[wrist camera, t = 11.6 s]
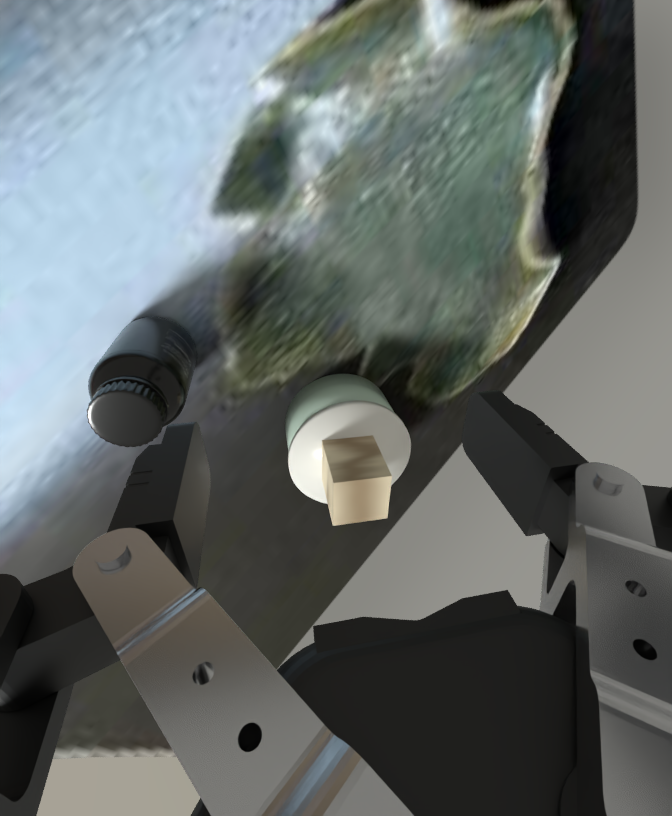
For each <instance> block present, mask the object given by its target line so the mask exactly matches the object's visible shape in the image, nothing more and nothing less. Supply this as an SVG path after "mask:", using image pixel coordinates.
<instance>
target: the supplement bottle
mask: <svg viewBox="0 0 672 816" xmlns="http://www.w3.org/2000/svg"><path fill="white" fill-rule="evenodd" d="M196 359H197V352H196V347H195V344H194V342H193V340H192V338H191V336H190V335H189V334H188V333H187V331H186V330H185V329H184V328H182V327H181V326H180V325H178V324H177V323H175V322H173V321H171V320H168V319H165V318H161V317H144V318H140V319H137V320H135V321H133V322H131V323H130V324H128V325H127V326H126V327H125V328H124V329H123V330H122V332H121V333H120V334H119V335H118V337H117V338H116V339H115V341H114V342H113V343H112V345H111V346H110V347H109V348H108V350H107V351H106V352H105V354H104V355H103V356H102V358H101V359H100V360H99V362H98V363H97V364H96V366H95V367H94V369H93V371H92V373H91V375H90V378H89V384H88V390H89V395H90V398H91V401H90V403H89V407H88V409H87V413H88V414H87V418H88V419H89V420H88V423H89V424H90V425H91V428H92V429H93V430H94V432H95V433H96V434H98V435H99V436H100V438H103V439H104V440H105V441H107V442H110V443H112V444H116V445H119V446H125V447H130V446H131V447H136V446H142V445H143V444H147V443H148V442H150V441H153V439H154V438H156V437H157V436H158V434H159V433H160V432H161V430H162V427H164V426H166V425H168V424H169V423H171V422H172V421H174V420H175V419H176V418H177V417H178V416H179V414H180V413H181V411H182V409H183V407H184V405H185V402H186V398H187V395H188V391H189V387H190V384H191V380H192V376H193V373H194V369H195V365H196Z"/></svg>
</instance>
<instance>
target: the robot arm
mask: <svg viewBox="0 0 672 816" xmlns="http://www.w3.org/2000/svg"><path fill="white" fill-rule="evenodd" d="M462 443H463V447H464V450H465V452H466V454H467V456H468V457H469V459H470V460H471V461H472V463H473V464H474V465H475V467H476V468H477V470H478V471H479V472H480V474H481V475H482V476H483V478H484V479H485V480H486V482H487V483H488V485H489V486H490V487H491V489H492V490H493V491H494V493H495V494H496V495H497V497H498V498H499V500H500V501H501V502H502V504H503V505H504V506H505V508H506V509H507V511H508V512H509V513H510V515H511V516H512V517H513V518H514V520H515V522H516V523H517V524H518V526H519V527H520V528H521V530H522V531H523V532H524V534H525V535H526V536H531V535H537V534H542V533H545V535H546V536H547V537H548V540H547V543H546V545H545V552H544V566H543V580H542V592H541V604H540V610H536V609H532V608H527V607H522V606H517V605H516V603H515V602H514V600H513V598H512V597H511V595H510V593H509V592H508V590H505V591H500V592H494V593H489V594H484V595H479V596H473V597H468V598H462V599H460V600H458V601H457V602H455V603H453V604H451V605H449V606H447V607H445V608H443V609H441V610H439V611H437V612H435V613H433V614H432V615H430V616H428V617H426V618H424V619H421V620H417V621H416V620H415V621H413V620H399V619H386V618H372V617H360V618H355V619H350V620H344V621H339V622H334V623H328V624H323V625H317V626H313V629H314V641H315V643H313V644H311V645H309V646H307V647H305V648H303V649H302V650H301V651H299V652H297V653H296V654H294V655H293V656H292V657H290V658H289V659H288V660H287V661H286V662H285V663H284V664H282V665H281V666H280V668H279V669H278V670H276V669H275V668H274V667H273V666H272V665H271V663H270V662H269V661H268V660H267V659H266V658H265V657H264V655H263V654H262V653H261V652H260V651H259V650H258V649H257V648H256V646H255V645H254V644H253V643H252V642H251V641H250V640H249V638H248V637H247V636H246V635H245V634H244V633H243V632H242V630H241V629H240V628H239V627H238V626H237V625H236V624H235V623H234V621H233V620H232V619H231V618H230V617H229V616H228V615H227V613H226V612H225V611H224V610H223V609H222V608H221V607H220V605H219V604H218V603H217V602H216V601H215V600H214V599H213V597H212V596H211V595H210V594H209V593H208V592H207V591H206V590H204V589H203V588H199V589H197V584H198V576H199V569H200V561H201V553H202V546H203V538H204V531H205V523H206V515H207V508H208V500H209V493H210V469H209V464H208V460H207V456H206V452H205V448H204V443H203V439H202V435H201V431H200V427H199V425H198V423H197V422H191V423H181V424H172V425H168V426H167V428H166V431H165V434H164V437H163V441H162V444H157V445H149V446H148V447H147V448H146V449H145V450H144V451H143V452H142V453H141V454H140V455H139V456H138V457H137V458H136V460H135V463H134V465H133V468H132V470H131V476H129V478H128V480H127V483H126V488H124V491H123V493H122V496H121V498H120V501H119V503H118V506H117V508H116V511H115V513H114V516H113V518H112V521H111V524H110V526H109V529H108V531H107V533H106V534H104V535H102V536H100V537H98V538H96V539H95V540H93V541H92V542H91V543H90V544H88V545H87V546H86V547H85V548H84V549H83V550H82V551H81V553H80V554H79V555H78V557H77V559H76V560H75V563H74V565H73V566H72V567H70V568H68V569H66V570H64V571H61V572H59V573H56V574H54V575H51V576H48V577H46V578H43V579H41V580H38V581H36V582H33V583H31V584H28V585H25V586H23V585H22V584H21V582H20V581H19V580H18V579H17V578H16V577H14V576H12V575H8V574H0V816H36V814H37V811H38V807H39V804H40V801H41V797H42V794H43V790H44V787H45V783H46V780H47V776H48V773H49V769H50V766H51V762H52V759H53V755H54V752H55V748H56V745H57V741H58V738H59V734H60V731H61V728H62V724H63V721H64V717H65V714H66V710H67V707H68V703H69V700H70V696H71V693H72V689H73V686H74V683H75V682H77V681H79V680H81V679H83V678H85V677H87V676H89V675H91V674H93V673H95V672H97V671H99V670H101V669H103V668H105V667H107V666H109V665H111V664H113V663H115V662H117V661H119V660H121V661H122V663H123V665H124V667H125V668H126V670H127V672H128V673H129V675H130V677H131V679H132V680H133V682H134V684H135V686H136V687H137V689H138V691H139V692H140V694H141V696H142V698H143V699H144V701H145V703H146V704H147V706H148V708H149V710H150V711H151V713H152V715H153V717H154V718H155V720H156V722H157V723H158V725H159V727H160V729H161V730H162V732H163V734H164V736H165V737H166V739H167V741H168V742H169V744H170V746H171V748H172V749H173V751H174V753H175V754H176V756H177V758H178V760H179V761H180V763H181V765H182V766H183V768H184V770H185V772H186V773H187V775H188V777H189V779H190V780H191V782H192V784H193V785H194V787H195V789H196V791H197V792H198V794H199V796H200V800H199V802H198V803H197V805H196V807H195V809H194V811H193V812H192V814H191V816H672V487H671V488H667V487H657V486H646V485H641V483H640V482H639V481H638V480H637V479H636V478H635V477H633V476H632V475H630V474H629V473H627V472H626V471H624V470H622V469H619V468H617V467H615V466H612V465H608V464H604V463H596V462H591V463H589V462H587V460H585V459H584V458H583V457H582V456H581V455H580V454H579V453H578V452H577V451H575V450H574V449H573V448H572V447H571V446H569V444H567V443H566V442H565V441H564V440H563V439H562V438H561V437H560V436H559V435H557V434H554V431H553V430H552V429H551V428H550V427H549V426H547V425H545V423H544V422H543V421H542V420H541V419H540V418H538V417H537V416H536V415H535V414H534V413H532V412H531V411H529V410H527V409H525V408H523V407H521V406H519V405H516V404H514V403H513V402H512V401H510V400H509V399H508V398H507V397H506V396H505V395H504V394H503V393H502V392H501V391H499V390H495V391H485V392H476V393H473V394H472V395H471V396H470V398H469V402H468V407H467V413H466V418H465V423H464V428H463V433H462Z"/></svg>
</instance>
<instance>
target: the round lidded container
mask: <svg viewBox="0 0 672 816" xmlns="http://www.w3.org/2000/svg"><path fill="white" fill-rule="evenodd" d="M285 430H286V437H287V444H288V465H289V471H290V475H291V477H292V480H293V482H294V483H295V485H296V486H297V487H298V488H299V489H300V491H301V492H303V493H304V494H305V495H307V496H308V497H310V498H312V499H314V500H316V501H319V502H323V503H327V499H326V495H325V491H324V486H323V482H322V440H332V439H342V438H352V437H361V436H371V435H373V437H374V439H375V441H376V443H377V445H378V447H379V449H380V452H381V454H382V456H383V458H384V460H385V462H386V464H387V466H388V469H389V471H390V473H391V475H392V481H391V485H392V484H393V483H394V482H395V481H396V480H397V479H398V478H399V476H400V475H401V474H402V472H403V471H404V469H405V467H406V465H407V463H408V460H409V457H410V451H411V441H410V436H409V433H408V431H407V429H406V427H405V425H404V424H403V422H402V420H401V419H400V418H399V417H398V416H397V414H395V413H394V411H393V409H392V408H391V406H390V404H389V403H388V401H387V399H386V398H385V396H384V394H383V393H382V391H381V390H380V389H379V388H378V387H377V386H376V385H375V384H374V383H373V382H371V381H369V380H368V379H366V378H363V377H361V376H357V375H352V374H333V375H328V376H325V377H322V378H319V379H317V380H315V381H313V382H311V383H310V384H308V385H307V386H305V387H304V388H303V389H302V390H301V391H300V392H299V393H298V394H297V395H296V396H295V397H294V399H293V400H292V402H291V403H290V405H289V407H288V410H287V413H286V417H285ZM327 504H328V503H327Z"/></svg>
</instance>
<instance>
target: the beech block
mask: <svg viewBox="0 0 672 816" xmlns="http://www.w3.org/2000/svg"><path fill="white" fill-rule="evenodd" d="M391 481H392V475H391V473H390V471H389V469H388V466H387V464H386V462H385V460H384V458H383V456H382V454H381V452H380V449H379V447H378V445H377V443H376V441H375V439H374V437H373V435H371V436H361V437H352V438H342V439H332V440H322V482H323V486H324V491H325V495H326V499H327V503H328V507H329V511H330V516H331V520H332V524H333V526H335V525H342V524H349V523H356V522H364V521H371V520H378V519H385V518H387V515H388V507H389V498H390V489H391Z"/></svg>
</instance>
